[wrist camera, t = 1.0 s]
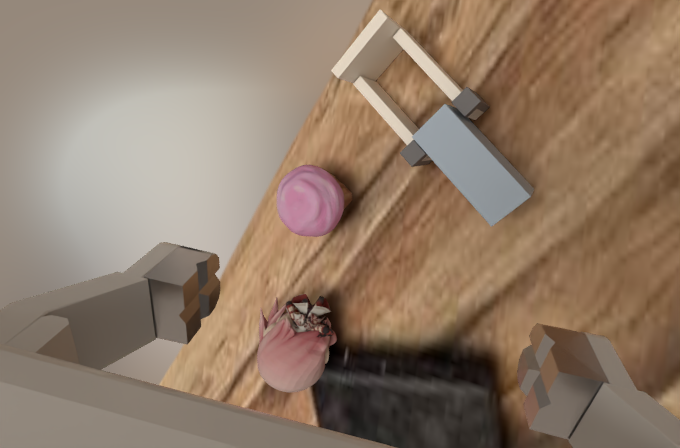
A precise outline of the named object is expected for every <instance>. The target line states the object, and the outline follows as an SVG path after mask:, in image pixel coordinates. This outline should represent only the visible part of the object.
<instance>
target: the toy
mask: <svg viewBox="0 0 680 448" xmlns="http://www.w3.org/2000/svg"><path fill="white" fill-rule="evenodd" d="M285 309H287V312H286V313H285V314H284V315H283V316H282V314H283V313H284V311H285ZM328 312H331V310H330V307H329V305H328V302H327V300H326V298H324V297H321V296H320V297H319V299H318V300H317V302H316V304H314V305H311V304H310V301H309V299H308V297H307V295H306V294H303V295H299V296H296V297H294V298H292V300H291V301H288V302H287V303H286V304H285V305H284V306H283V307H282V308H281V309H280V310H279V311H278V300H277V298H276V300H275V303H274V306H273V308H272V310H271V313H270V315H269V318H268V322H267V320H266V319H265V317H264V315H263V312H262V309H261V310H260V323H259V337H260V343H259V348H258V353H257V363H258V370H259V372H260V375H261V377H262V378H263V379H264V380H265V382H266V383H268V384H269V385H270V386H272V387H273V388H275V389H277V390H280V391H284V392H298V391H302V390H305V389H307V388H308V387H310V386H312V385H313V384H314V383H316V382H317V380H318V379H319V378H320V377H321V375H322V373H323V371H324V368H325V364H326V363H327V362H328V359H329V346H330V345H333V344H334V343H336V341H337V337H336V334H335V332H334V331H333V330H332V329H331V328H330V327H331V323H330V321H329V319H328V318H327V320H324V321H322V320H323V319H324V318H321V317H320V315H323V314H325V313H328ZM281 316H282V317H281ZM318 316H319V317H320V318H319V319H318Z"/></svg>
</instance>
